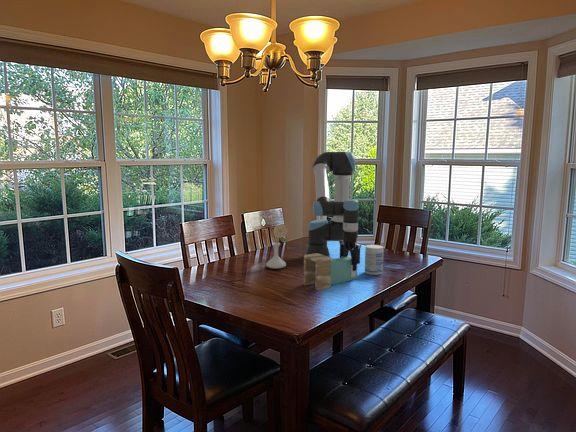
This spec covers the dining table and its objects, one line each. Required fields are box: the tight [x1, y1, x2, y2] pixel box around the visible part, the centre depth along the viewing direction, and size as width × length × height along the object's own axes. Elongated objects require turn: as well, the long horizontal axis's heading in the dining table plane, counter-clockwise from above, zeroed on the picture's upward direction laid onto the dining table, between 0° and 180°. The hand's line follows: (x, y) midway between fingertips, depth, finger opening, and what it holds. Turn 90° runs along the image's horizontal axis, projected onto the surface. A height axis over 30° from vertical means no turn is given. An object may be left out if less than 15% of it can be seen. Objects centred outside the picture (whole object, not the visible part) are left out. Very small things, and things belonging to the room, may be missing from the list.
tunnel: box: [303, 253, 332, 291], centre depth 201 cm, size 11×8×15 cm
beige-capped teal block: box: [331, 255, 358, 285], centre depth 209 cm, size 5×19×11 cm, turn 125°
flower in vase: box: [265, 223, 289, 269], centre depth 233 cm, size 13×11×25 cm
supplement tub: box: [364, 244, 384, 276], centre depth 224 cm, size 10×10×15 cm
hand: (349, 275), depth 213 cm, fingers closed on beige-capped teal block, 5 cm apart
